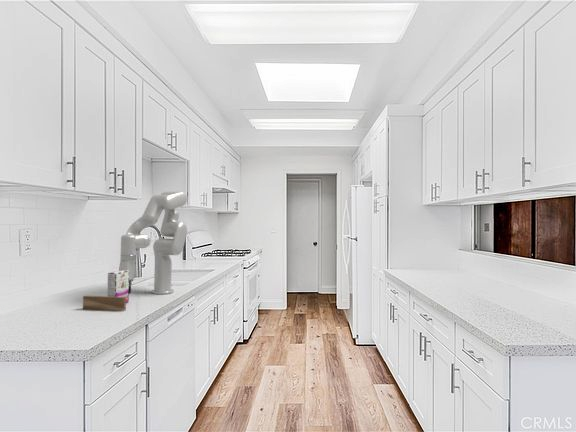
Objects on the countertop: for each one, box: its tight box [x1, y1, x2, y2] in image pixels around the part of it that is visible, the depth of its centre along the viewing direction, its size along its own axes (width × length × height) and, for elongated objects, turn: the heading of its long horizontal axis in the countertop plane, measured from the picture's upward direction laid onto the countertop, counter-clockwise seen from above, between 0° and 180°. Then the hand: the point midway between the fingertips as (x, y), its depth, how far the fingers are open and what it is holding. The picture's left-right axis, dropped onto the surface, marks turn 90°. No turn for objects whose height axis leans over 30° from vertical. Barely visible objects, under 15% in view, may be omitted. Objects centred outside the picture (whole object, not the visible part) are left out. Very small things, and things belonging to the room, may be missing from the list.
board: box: [82, 295, 127, 312], centre depth 191 cm, size 2×20×6 cm, turn 84°
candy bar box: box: [107, 270, 130, 304], centre depth 203 cm, size 11×5×16 cm, turn 168°
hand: (127, 293), depth 213 cm, fingers closed
